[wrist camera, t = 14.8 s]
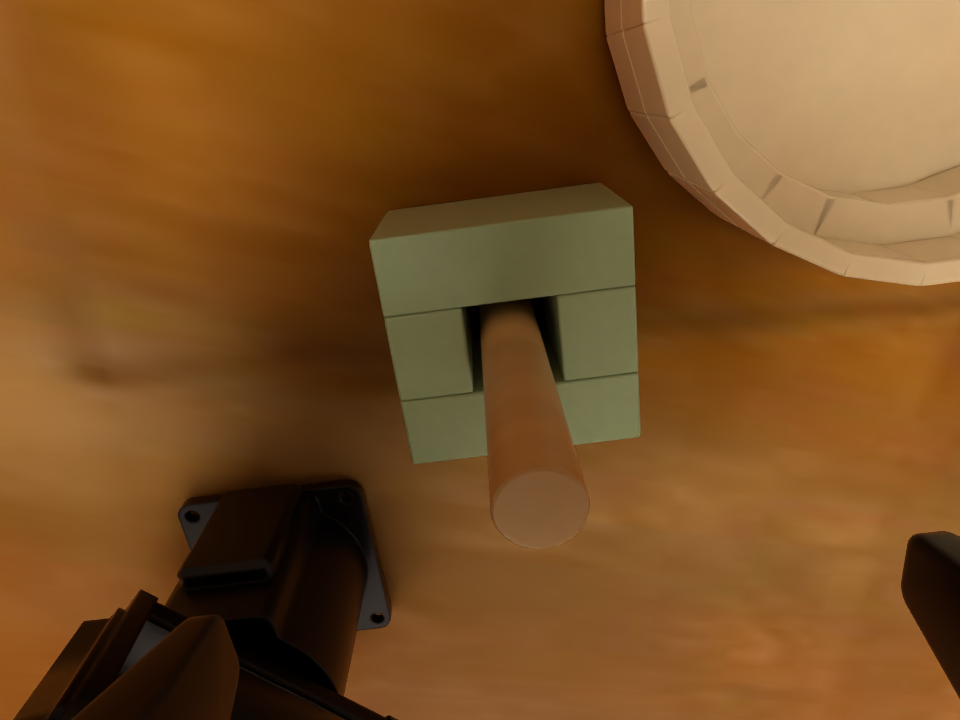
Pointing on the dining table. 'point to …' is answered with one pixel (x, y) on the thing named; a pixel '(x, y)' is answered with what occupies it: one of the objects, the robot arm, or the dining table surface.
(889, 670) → the dining table surface
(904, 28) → the bowl
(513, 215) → the stand
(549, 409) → the stick
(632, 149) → the dining table surface
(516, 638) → the dining table surface
